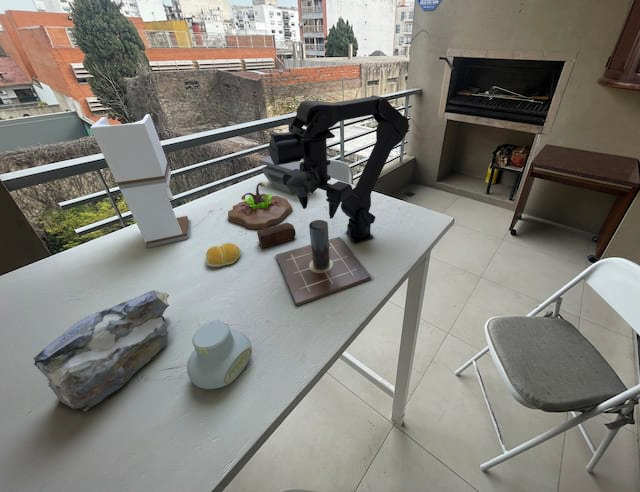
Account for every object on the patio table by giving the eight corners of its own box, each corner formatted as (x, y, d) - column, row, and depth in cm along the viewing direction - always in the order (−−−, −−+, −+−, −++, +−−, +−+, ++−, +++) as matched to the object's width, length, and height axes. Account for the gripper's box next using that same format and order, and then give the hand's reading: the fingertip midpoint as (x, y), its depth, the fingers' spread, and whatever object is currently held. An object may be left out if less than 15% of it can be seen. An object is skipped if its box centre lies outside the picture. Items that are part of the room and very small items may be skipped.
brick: (263, 249, 84) (260, 236, 82) (259, 242, 87) (256, 230, 85) (296, 238, 89) (295, 226, 87) (291, 232, 92) (290, 220, 90)
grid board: (339, 239, 89) (339, 236, 89) (370, 279, 74) (370, 276, 74) (276, 257, 81) (275, 254, 81) (296, 306, 67) (296, 302, 66)
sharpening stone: (263, 183, 123) (258, 159, 117) (276, 177, 128) (273, 154, 123) (306, 199, 111) (303, 173, 106) (319, 192, 117) (317, 167, 111)
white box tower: (188, 238, 88) (144, 123, 70) (148, 247, 84) (89, 127, 66) (188, 220, 97) (149, 114, 78) (152, 228, 93) (102, 117, 74)
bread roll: (243, 262, 80) (240, 250, 77) (208, 271, 76) (204, 260, 74) (239, 245, 86) (236, 235, 84) (206, 254, 82) (202, 243, 80)
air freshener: (219, 403, 49) (202, 371, 43) (184, 384, 51) (164, 351, 46) (261, 350, 57) (251, 317, 52) (229, 335, 60) (217, 303, 54)
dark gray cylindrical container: (326, 257, 80) (323, 218, 73) (332, 266, 77) (330, 227, 70) (310, 261, 78) (306, 222, 71) (316, 272, 75) (312, 231, 68)
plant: (301, 208, 105) (298, 181, 99) (261, 234, 91) (254, 204, 85) (263, 195, 114) (258, 169, 107) (221, 217, 99) (212, 188, 93)
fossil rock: (167, 329, 65) (159, 275, 59) (194, 348, 62) (189, 293, 56) (44, 402, 48) (16, 336, 42) (74, 435, 44) (48, 368, 39)
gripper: (262, 158, 67) (271, 215, 75) (325, 176, 59) (327, 238, 67) (295, 147, 75) (299, 199, 83) (354, 162, 67) (352, 218, 75)
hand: (318, 213), depth 77 cm, fingers open, 9 cm apart
